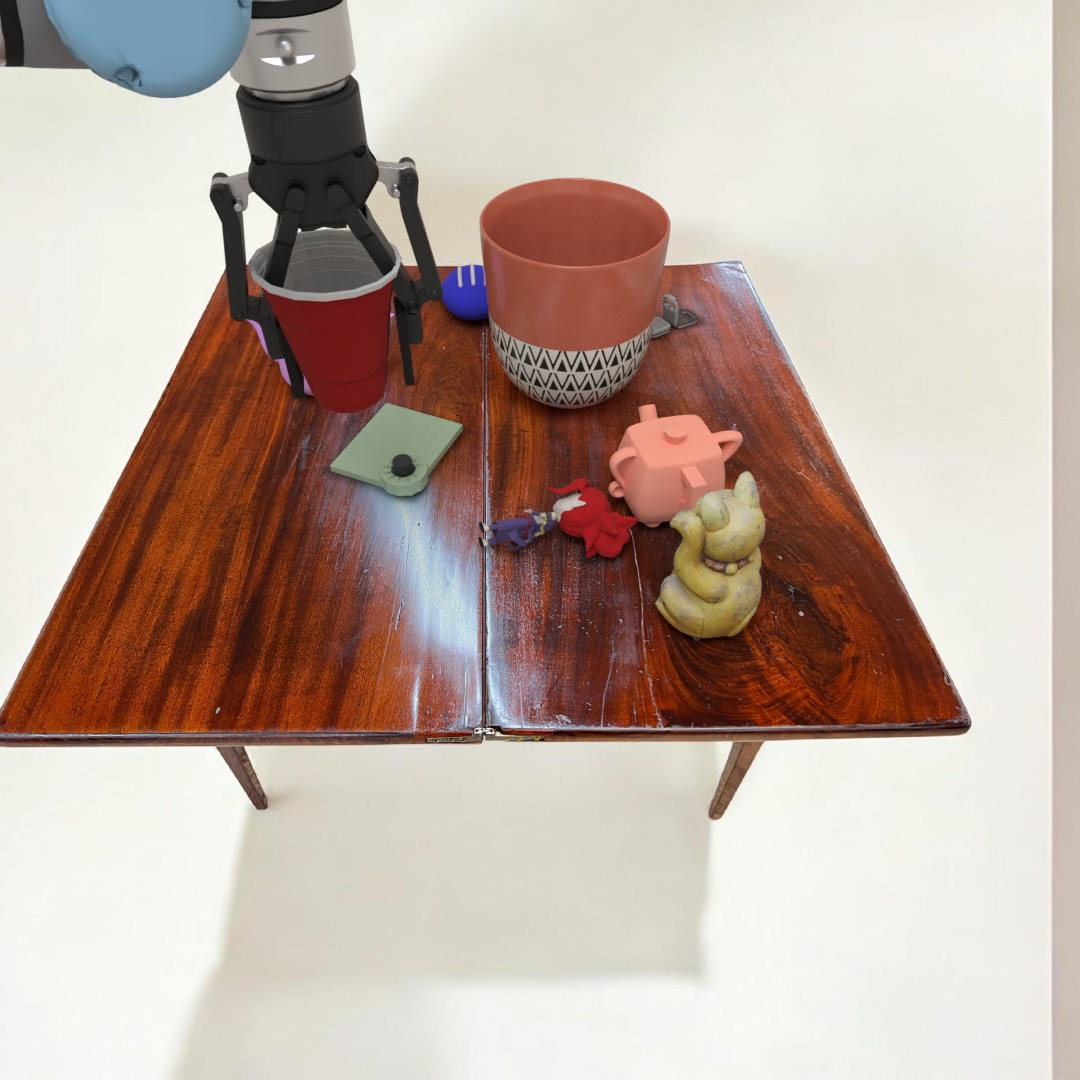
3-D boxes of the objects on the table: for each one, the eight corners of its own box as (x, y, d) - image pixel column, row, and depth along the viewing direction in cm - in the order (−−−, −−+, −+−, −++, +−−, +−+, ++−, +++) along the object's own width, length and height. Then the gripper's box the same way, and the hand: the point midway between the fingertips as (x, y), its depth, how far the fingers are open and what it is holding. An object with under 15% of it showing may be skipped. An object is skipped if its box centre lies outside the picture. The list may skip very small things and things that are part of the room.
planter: (526, 460, 94) (525, 284, 78) (463, 365, 106) (451, 196, 90) (680, 416, 99) (707, 243, 84) (603, 330, 111) (615, 165, 96)
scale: (414, 507, 89) (412, 489, 87) (324, 478, 92) (320, 461, 90) (471, 432, 97) (470, 415, 95) (386, 408, 100) (384, 391, 98)
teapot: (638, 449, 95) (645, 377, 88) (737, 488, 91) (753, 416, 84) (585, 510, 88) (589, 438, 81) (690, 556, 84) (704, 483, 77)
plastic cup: (446, 381, 71) (431, 246, 62) (353, 451, 65) (322, 312, 56) (352, 338, 75) (326, 206, 66) (257, 399, 69) (215, 263, 60)
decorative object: (438, 242, 114) (512, 255, 114) (436, 281, 118) (508, 293, 118) (424, 286, 107) (504, 300, 107) (423, 325, 111) (499, 338, 112)
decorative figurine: (708, 563, 83) (734, 446, 73) (777, 612, 79) (815, 495, 68) (641, 616, 79) (658, 499, 68) (710, 671, 75) (740, 555, 64)
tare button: (407, 479, 88) (405, 468, 87) (390, 474, 89) (388, 463, 88) (416, 467, 90) (415, 456, 89) (400, 462, 90) (398, 451, 89)
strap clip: (648, 340, 110) (651, 311, 107) (634, 329, 112) (637, 300, 109) (700, 322, 113) (705, 293, 110) (686, 311, 115) (690, 282, 112)
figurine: (471, 525, 86) (610, 496, 89) (493, 598, 82) (638, 564, 85) (472, 489, 80) (620, 459, 84) (495, 564, 76) (650, 530, 80)
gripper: (109, 115, 49) (218, 426, 65) (472, 89, 51) (489, 394, 68) (126, 69, 54) (224, 369, 70) (457, 48, 56) (476, 342, 73)
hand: (354, 381), depth 69 cm, fingers closed on plastic cup, 8 cm apart
